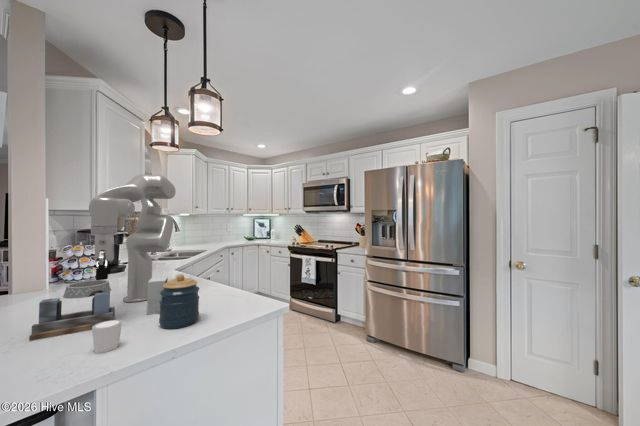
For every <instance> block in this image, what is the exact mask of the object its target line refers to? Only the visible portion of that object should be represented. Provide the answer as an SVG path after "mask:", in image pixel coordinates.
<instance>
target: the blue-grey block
mask: <svg viewBox="0 0 640 426" xmlns="http://www.w3.org/2000/svg"><path fill="white" fill-rule="evenodd" d="M110 300H111V291H110V292H101V293H96V294H94V296H93V297H92V299H91V310H92V315H96V314H102V313H109V310H110V307H111V306H110V305H111V304H110V303H111V301H110Z"/></svg>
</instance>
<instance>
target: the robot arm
mask: <svg viewBox="0 0 640 426" xmlns="http://www.w3.org/2000/svg"><path fill="white" fill-rule="evenodd" d="M176 194H177V193H176V187H175V185H174V184H173V183H172V182H171V181H170V180H169V179H168V178H167V177H165V176H163V175H162V174H147V173H146V174H143V173H142V174H138V175H136V176H134V177H133V178H132V179H131V180H129V181H128V182H127V183H126V184H124V185H121V186H118V187H114V188H110V189H106V190H105V191H102V192H100V193H99V194H97V195H95V196H94V197H93V198H92V199H91V200H90V202H89V204H88V211H89V213H90V235H91V236H94V262H95V263H96V268H95V280H108V278H109V275H110V274H111V262H113V261H114V260H115V235H118V218H128V217H130V216H132V215H134V213H135V210H136V207H135V202H139V201H140V203H141V210H140V213H139V216H138V218H137V219H138V220H137V221H136V227H135V228H136V230H137V231H138V232H134V233H131V234H129V235H128V236H127V238H126V241H125V246H126V251H127V262H128V263H127V287H126V288H127V294H126V295H125V296H124V297H123V298H122V301H123V302H124V303H138V302H139V303H140V302H144V301H147V291H148V281H149V280H150V279H151V278H153V260H152V257H151V256H150V254H149V253H163V252H166V251H167V250H168V248H169V245H170V241H171V238H172V234H173V230H174V220H173V217H172V216H170V215H169V214H161V213H162V208H161V206H160V204H159V203H158V202H156V199H157V200H158V199H159V200H171V199H174V198H175V196H176Z"/></svg>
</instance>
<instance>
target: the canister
mask: <svg viewBox="0 0 640 426" xmlns="http://www.w3.org/2000/svg"><path fill="white" fill-rule="evenodd" d="M197 284H198V281H197V280H194V279H193V278H191V277H190V278H189V277H185V275H184V274H181V273H180V274H178V275H177V276H176V278H174V279H170V280H169V281H168V280H167V283H165V284H164V285H163V288H164V289H163V290H162V291H160V295H161V300H160V302H159V303H160V313H159V319H158V323H159V327H160V328H162V329H167V330H171V329H173V330H174V329H181V328H184V327H188V326H192V325H193V324H196V323H197V322H198V320H199V317H200V312H199V310H200V309H199V305H200V295H199V291H200V287H199V286H197Z"/></svg>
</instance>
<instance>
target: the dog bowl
mask: <svg viewBox="0 0 640 426" xmlns="http://www.w3.org/2000/svg"><path fill="white" fill-rule="evenodd" d="M111 291H112V289H111V286H110V280H108V279H104V280H96V279H92V280H84V281H83V280H82V281H77V282H72V283H70V284H67V285H66V286H65V291H64V293H63V296H62V297H63V298H64V299H82V298H89V297H90V296H91V295H95V294H96V293H103V292H110V293H111Z"/></svg>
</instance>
